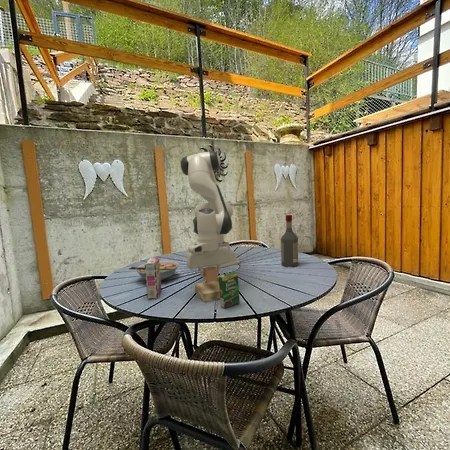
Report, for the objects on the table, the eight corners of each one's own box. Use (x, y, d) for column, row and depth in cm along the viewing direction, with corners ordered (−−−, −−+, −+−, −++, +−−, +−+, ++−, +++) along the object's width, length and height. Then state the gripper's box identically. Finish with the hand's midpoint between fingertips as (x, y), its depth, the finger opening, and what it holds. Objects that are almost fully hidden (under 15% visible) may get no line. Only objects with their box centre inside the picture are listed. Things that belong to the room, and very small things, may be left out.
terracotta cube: (213, 276, 123) (212, 266, 122) (217, 279, 118) (217, 269, 118) (203, 278, 121) (202, 268, 120) (207, 281, 116) (206, 270, 116)
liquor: (280, 266, 156) (279, 216, 152) (283, 262, 165) (282, 214, 161) (296, 267, 153) (295, 216, 149) (298, 263, 161) (297, 214, 157)
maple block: (218, 287, 129) (218, 279, 129) (229, 297, 117) (229, 289, 116) (195, 292, 125) (194, 284, 125) (203, 303, 112) (203, 294, 112)
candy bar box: (158, 298, 119) (155, 263, 116) (147, 299, 118) (143, 264, 116) (162, 289, 130) (159, 257, 128) (152, 290, 129) (148, 257, 127)
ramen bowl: (188, 273, 154) (187, 259, 153) (169, 287, 132) (168, 271, 131) (150, 271, 161) (148, 258, 160) (126, 285, 139) (124, 270, 138)
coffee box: (223, 309, 105) (221, 277, 103) (219, 306, 107) (218, 275, 105) (240, 303, 109) (238, 273, 107) (236, 301, 111) (234, 271, 110)
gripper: (226, 241, 125) (228, 269, 127) (184, 246, 116) (186, 277, 118) (232, 243, 119) (233, 273, 121) (188, 249, 111) (190, 281, 113)
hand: (210, 275), depth 120 cm, fingers closed on terracotta cube, 5 cm apart
